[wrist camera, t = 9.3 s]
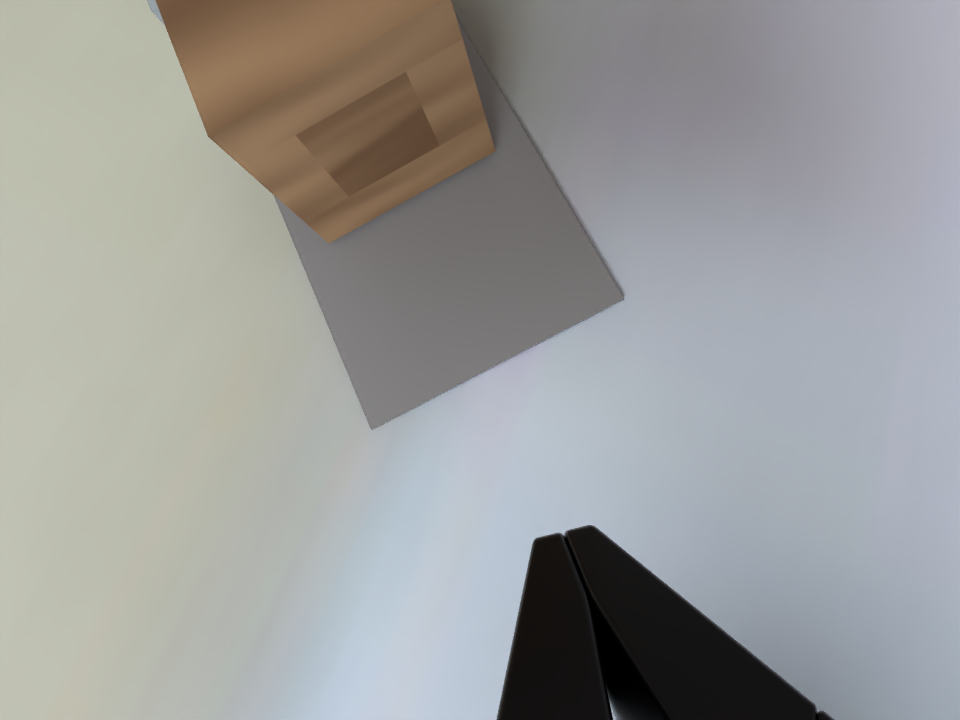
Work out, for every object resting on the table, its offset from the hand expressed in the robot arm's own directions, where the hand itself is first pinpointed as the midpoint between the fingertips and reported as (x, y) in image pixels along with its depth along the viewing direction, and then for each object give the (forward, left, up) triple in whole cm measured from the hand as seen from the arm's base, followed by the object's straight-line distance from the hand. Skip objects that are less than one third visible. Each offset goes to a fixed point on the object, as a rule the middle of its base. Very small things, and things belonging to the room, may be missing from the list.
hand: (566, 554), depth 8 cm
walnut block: (+15, +11, -13) cm, 22 cm away
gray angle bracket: (+12, +9, -13) cm, 20 cm away
